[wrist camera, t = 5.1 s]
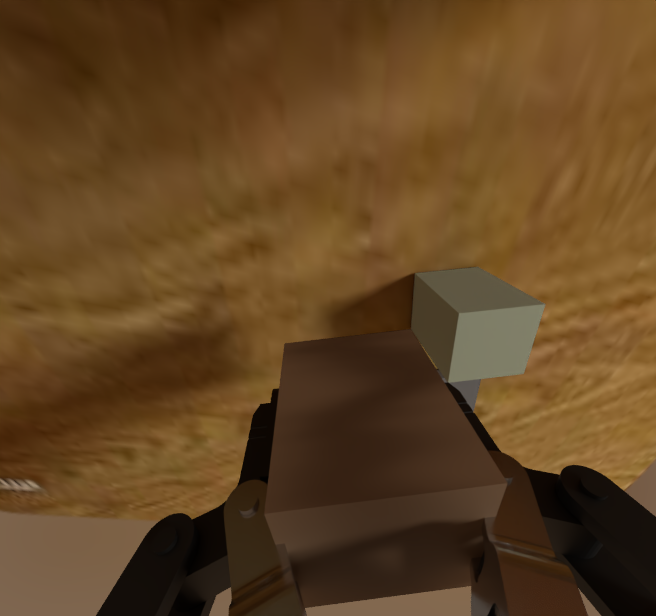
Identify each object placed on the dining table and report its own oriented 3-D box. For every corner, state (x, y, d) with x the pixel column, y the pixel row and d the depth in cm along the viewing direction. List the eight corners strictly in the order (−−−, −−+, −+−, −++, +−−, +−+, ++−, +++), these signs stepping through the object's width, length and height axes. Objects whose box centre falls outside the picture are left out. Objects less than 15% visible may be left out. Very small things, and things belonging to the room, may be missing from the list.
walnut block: (410, 329, 11) (507, 483, 6) (405, 417, 13) (471, 585, 8) (284, 343, 11) (264, 513, 6) (301, 430, 13) (298, 608, 8)
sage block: (478, 267, 20) (545, 304, 14) (468, 322, 22) (523, 373, 16) (414, 273, 19) (459, 313, 14) (410, 328, 21) (447, 382, 16)
